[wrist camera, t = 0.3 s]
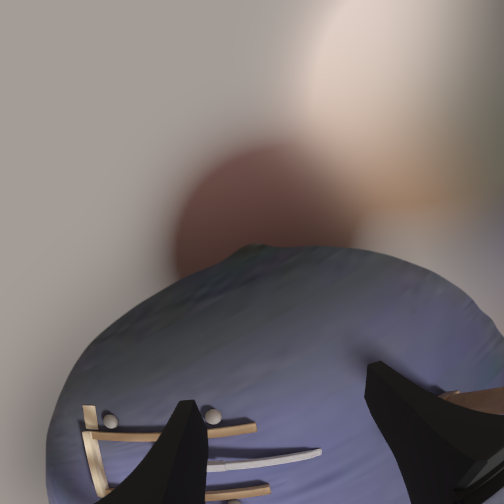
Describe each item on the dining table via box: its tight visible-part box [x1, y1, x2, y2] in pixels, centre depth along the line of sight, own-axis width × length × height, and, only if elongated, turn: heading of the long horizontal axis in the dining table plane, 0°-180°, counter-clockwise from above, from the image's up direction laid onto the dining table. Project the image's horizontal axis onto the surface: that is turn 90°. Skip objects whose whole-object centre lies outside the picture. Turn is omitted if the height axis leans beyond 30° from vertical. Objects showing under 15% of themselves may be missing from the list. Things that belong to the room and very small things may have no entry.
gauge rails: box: [82, 405, 271, 504], centre depth 30 cm, size 20×27×2 cm
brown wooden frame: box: [438, 387, 504, 414], centre depth 24 cm, size 4×11×18 cm, turn 7°
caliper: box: [207, 448, 322, 472], centre depth 29 cm, size 20×1×6 cm, turn 95°
